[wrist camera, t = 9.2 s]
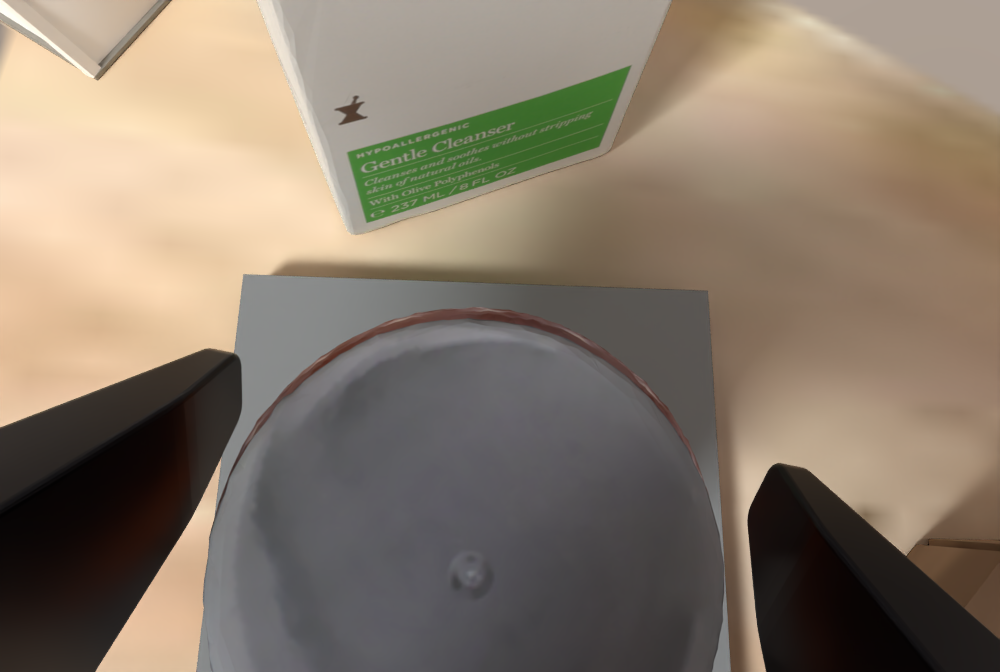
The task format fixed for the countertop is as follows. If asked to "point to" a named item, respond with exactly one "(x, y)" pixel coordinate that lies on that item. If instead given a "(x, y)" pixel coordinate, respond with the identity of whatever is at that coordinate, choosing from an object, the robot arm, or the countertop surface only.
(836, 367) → the countertop surface
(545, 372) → the supplement bottle
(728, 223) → the countertop surface
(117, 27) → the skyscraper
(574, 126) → the skincare box
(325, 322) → the pad
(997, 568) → the collar ring
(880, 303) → the countertop surface
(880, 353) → the countertop surface
